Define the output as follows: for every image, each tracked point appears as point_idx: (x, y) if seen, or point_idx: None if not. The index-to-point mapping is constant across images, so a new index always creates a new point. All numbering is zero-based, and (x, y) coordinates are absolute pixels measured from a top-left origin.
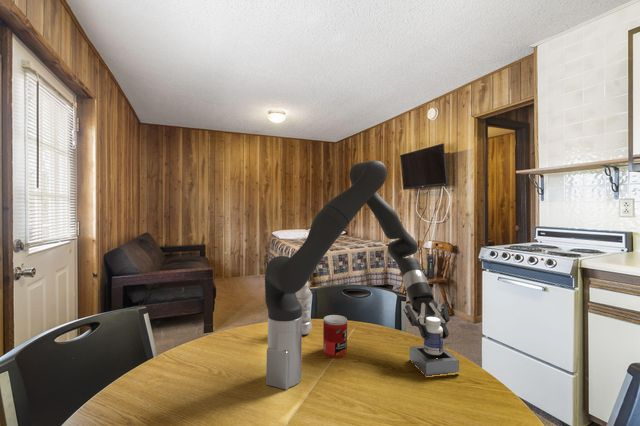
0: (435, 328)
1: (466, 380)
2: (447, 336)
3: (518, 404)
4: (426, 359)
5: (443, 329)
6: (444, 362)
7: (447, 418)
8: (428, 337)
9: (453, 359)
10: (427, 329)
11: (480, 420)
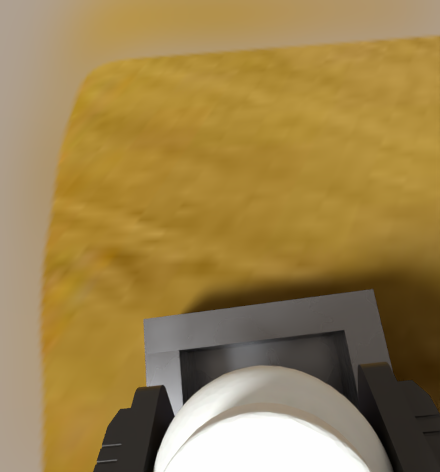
0: (276, 399)
1: (160, 277)
2: (148, 387)
3: (68, 128)
4: (359, 330)
5: (148, 453)
6: (244, 308)
7: (359, 49)
8: (364, 365)
9: (175, 327)
10: (376, 434)
11: (250, 49)
